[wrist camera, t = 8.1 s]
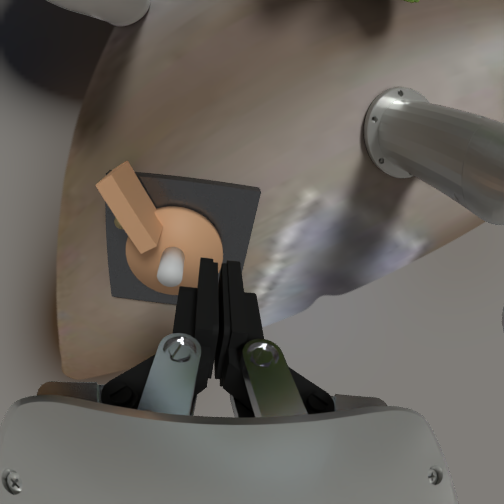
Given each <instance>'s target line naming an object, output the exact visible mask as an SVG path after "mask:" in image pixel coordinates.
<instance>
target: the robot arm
mask: <svg viewBox="0 0 504 504" xmlns="http://www.w3.org/2000/svg"><path fill="white" fill-rule="evenodd" d="M364 139H365V145H366V148H367V151H368V154H369V156H370V157H371V159H372V161H373V162H374V163H375V165H376V166H377V167H378V168H379V169H381V170H382V171H383V172H385V173H386V174H388V175H390V176H393V177H396V178H410V177H412V176H415V177H417V178H419V179H421V180H422V181H424V182H426V183H427V184H429V185H431V186H432V187H434V188H436V189H437V190H439V191H441V192H442V193H444V194H445V195H447V196H449V197H450V198H452V199H453V200H455V201H456V202H458V203H459V204H461V205H462V206H464V207H465V208H467V209H468V210H470V211H471V212H472V213H474V214H475V215H477V216H478V217H479V218H481V219H482V220H484V221H486V222H488V223H491V224H495V225H504V123H502V122H499V121H496V120H493V119H490V118H487V117H483V116H480V115H477V114H473V113H470V112H466V111H462V110H458V109H454V108H450V107H446V106H441V105H437V104H432V103H429V101H428V100H427V99H426V98H425V97H424V96H423V95H422V94H420V93H419V92H417V91H415V90H413V89H410V88H405V87H394V88H390V89H387V90H385V91H383V92H382V93H381V94H379V95H378V96H377V97H376V98H375V100H374V101H373V102H372V104H371V105H370V107H369V109H368V112H367V115H366V118H365V124H364ZM502 325H503V331H504V308H503V313H502ZM213 363H215V379H220V386H223V388H224V389H225V390H226V391H227V392H228V393H230V400H231V404H232V408H233V412H234V416H235V418H230V417H228V418H227V417H226V418H225V417H203V416H193V415H194V409H195V404H196V398H197V394H198V393H200V392H201V391H202V390H204V389H205V388H206V387H207V380H208V378H211V375H212V370H213ZM0 504H459V503H458V499H457V495H456V491H455V488H454V484H453V481H452V478H451V475H450V471H449V468H448V466H447V463H446V460H445V457H444V454H443V452H442V450H441V447H440V445H439V442H438V440H437V438H436V436H435V434H434V432H433V430H432V428H431V427H430V425H429V423H428V422H427V421H426V419H425V418H424V417H423V416H422V415H421V414H420V413H418V412H416V411H413V410H411V409H408V408H403V407H396V406H387V405H386V403H385V402H384V401H382V400H381V399H379V398H374V397H361V396H349V395H339V394H336V395H335V396H330V395H329V394H328V393H326V391H324V390H322V389H321V388H319V387H318V386H316V385H315V384H313V383H312V382H310V381H309V380H307V379H305V378H304V377H303V376H301V375H300V374H298V373H297V372H295V371H294V370H292V369H291V368H289V367H288V365H287V363H286V360H285V358H284V355H283V353H282V351H281V349H280V348H279V347H278V346H277V345H276V344H274V343H273V342H271V341H269V340H265V339H264V336H263V330H262V324H261V319H260V313H259V308H258V302H257V296H256V294H255V293H246V292H244V289H243V281H242V273H241V264H240V262H239V261H229V260H227V262H226V263H222V264H221V270H220V276H219V283H218V263H216V262H213V259H211V258H202V257H201V258H200V267H199V277H198V286H197V288H193V287H184V286H180V287H179V293H178V299H177V306H176V313H175V320H174V328H173V334H170V335H168V336H166V337H165V338H163V339H162V341H161V342H160V344H159V347H158V350H157V352H156V354H155V355H154V356H152V357H150V358H149V359H147V360H145V361H143V362H142V363H140V364H138V365H137V366H135V367H133V368H131V369H130V370H128V371H126V372H125V373H123V374H121V375H119V376H118V377H116V378H114V379H112V380H111V381H109V382H108V383H107V384H105V385H98V384H97V382H94V383H93V382H57V381H56V382H55V381H51V382H46V383H44V384H42V385H41V386H40V388H39V389H38V392H37V395H36V396H29V397H25V398H22V399H20V400H17V401H16V402H14V404H13V405H11V407H10V408H9V409H8V411H7V413H6V414H5V417H4V419H3V421H2V423H1V426H0Z"/></svg>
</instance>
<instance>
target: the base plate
mask: <svg viewBox="0 0 504 504" xmlns="http://www.w3.org/2000/svg"><path fill="white" fill-rule="evenodd" d="M111 171H112V170H110V171H108V172H107V173H106V175H107V174H108V173H110V172H111ZM135 174H136V176H137V178H138V179H139V181H140V183H141V184H142V186H143V188H144V189H145V191H146V193H147V194H148V196H149V198H150V199H151V201H152V203H153V204H154V206H155V208H156V209H157V208H161V207H167V206H177V207H184V208H188V209H191V210H193V211H195V212H197V213H199V214H201V215H202V216H204V217H205V218H207V219H208V220H209V221H210V222H211V223H212V224H213V226H214V227H215V228H216V230H217V231H218V233H219V236H220V238H221V241H222V247H223V261H222V263H226V262H227V260H229V261H239V262H240V264H241V273H242V270H243V266H244V261H245V257H246V253H247V249H248V244H249V240H250V236H251V232H252V228H253V223H254V219H255V215H256V211H257V207H258V202H259V198H260V194H261V191H260V189H259V188H258V187H252V186H245V185H239V184H232V183H226V182H219V181H211V180H204V179H196V178H188V177H180V176H171V175H161V174H151V173H141V172H135ZM106 237H107V253H108V266H109V276H110V285H111V294H112V296H114V297H121V298H128V299H135V300H143V301H151V302H160V303H168V304H177V299H178V295H169V294H164V293H160V292H157V291H155V290H153V289H151V288H149V287H147V286H146V285H144V284H143V283H142V282H141V281H140V280H138V278H137V277H136V276H135V275H134V274H133V272H132V271H131V269H130V267H129V265H128V262H127V258H126V242H127V238H128V235H127V233H126V232H125V230H124V229H123V227H122V226H121V224H120V223H119V221H118V220H117V218H116V217H115V215H114V214H113V212H112V211H111V209H110V208H109V206H108V204H107V203H106ZM220 270H221V269H220ZM219 276H220V271H219V273H218V283H219Z"/></svg>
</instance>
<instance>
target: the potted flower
mask: <svg viewBox="0 0 504 504" xmlns="http://www.w3.org/2000/svg"><path fill="white" fill-rule="evenodd" d="M404 1H407V2H411V3H414V2H419V0H404Z"/></svg>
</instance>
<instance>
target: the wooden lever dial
mask: <svg viewBox="0 0 504 504" xmlns="http://www.w3.org/2000/svg"><path fill="white" fill-rule="evenodd" d="M96 187H97V188H98V190H99V192H100V193H101V195H102V196H103V198H104V200H105V201H106V203H107V204H108V206H109V208H110V209H111V211H112V212H113V214H114V215H115V217H116V218H117V220H118V221H119V223H120V224H121V226H122V227H123V229H124V230H125V232H126V233H127V235H128V238H127V242H126V258H127V262H128V265H129V267H130V269H131V271H132V272H133V274H134V275H135V276H136V277H137V278H138V280H140V281H141V282H142V283H143V284H144V285H146V286H147V287H149V288H151V289H153V290H155V291H157V292H160V293H164V294H169V295H178V293H179V287H180V286H184V287H193V288H197V286H198V277H199V267H200V258H201V257H202V258H211V259H213V262H216V263H218V273H219V271H220V269H221V264H222V261H223V247H222V241H221V238H220V236H219V233H218V231H217V230H216V228H215V227H214V226H213V224H212V223H211V222H210V221H209V220H208V219H207V218H205V217H204V216H202V215H201V214H199V213H197V212H195V211H193V210H191V209H188V208H184V207H177V206H167V207H161V208H157V209H156V208H155V206H154V204H153V203H152V201H151V199H150V198H149V196H148V194H147V193H146V191H145V189H144V188H143V186H142V184H141V183H140V181H139V179H138V178H137V176H136V174H135V172H134V171H133V169H132V167H131V166H130V164H129V162H128V160H127V161H126V162H124V163H122V164H121V165H119V166H118V167H116V168H115V169H113V170H112V171H111V172H110V173H108V174H107V175H106V176H105V177H104V178H103V179H102V180H101V181H99V182H98V183H97V184H96Z"/></svg>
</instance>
